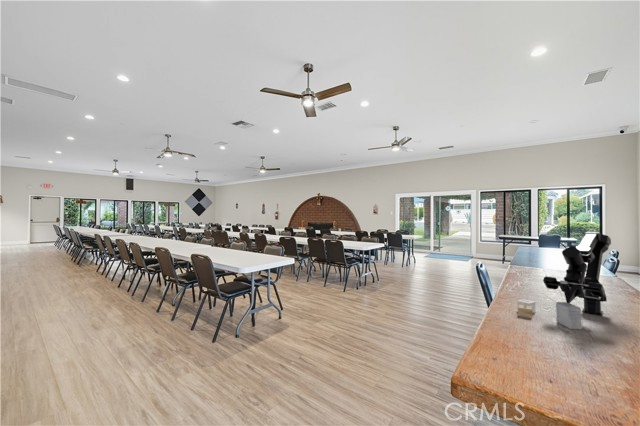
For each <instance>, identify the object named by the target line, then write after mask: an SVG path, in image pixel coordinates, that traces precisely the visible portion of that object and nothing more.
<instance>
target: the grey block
mask: <svg viewBox="0 0 640 426" xmlns="http://www.w3.org/2000/svg"><path fill="white" fill-rule="evenodd" d="M519 305H524V306H530V307H532V314H535V313H536V301H533V300H527V299H518V300H517V307H518V306H519Z"/></svg>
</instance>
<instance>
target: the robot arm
mask: <svg viewBox="0 0 640 426" xmlns="http://www.w3.org/2000/svg"><path fill="white" fill-rule="evenodd" d="M583 234H584V237H582V239H581V241H580V243H579V244H578V245H577V246H576V245H570V246H569V247H567V248H565V249H563V250H562V251H561V254H562V256H563V259H564V261H565V263H566V264H567V265H568V267H567V269H566V270H565V273H566V275H565V276H564V277H563V280H560V281H559V280H557V277H554V276H546V275H545V277H543V280H542V281H543V283H544V286H545V287H546V289H550V290H557V289H559V288H560V291H561V292H563V293H564V297H565V302H567V303H570V304H571V302H572V301H574V300H575V299H576V298H579V299H583V308H582V309H581V313H587V314H593V315H597V316H598V315H599V316H603V314H604V313H603V310H602V303H603V302H606V303H607V298H608V297H607V295H606V292H605V289H604V285H603V284H602V283H601V282H600V274H601V268H602V262H603V261H602V260H603V255H604V253H605V252H608V251H609V248H610V246H611V244H612V241H611V240H612V238H611V237H610V236H609V235H607V234H603V233H601V232H598V231H586V232H585V231H584V233H583Z"/></svg>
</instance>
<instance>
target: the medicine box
mask: <svg viewBox="0 0 640 426" xmlns="http://www.w3.org/2000/svg"><path fill="white" fill-rule="evenodd" d="M555 303H556V304H555V306H556V307H555V312H556V322H557V323H558V324H560V325H561V326H564V327H566V328H567V329H569V330H579V331H580V330H582V328H583V327H582V309H581V307H579V306H577V305H575V304H572V303H571V302H570V303H567V302H566V301H556V302H555Z"/></svg>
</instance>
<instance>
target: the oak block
mask: <svg viewBox="0 0 640 426" xmlns="http://www.w3.org/2000/svg"><path fill="white" fill-rule="evenodd" d="M533 314H534V313H532V307H530V306H524V305H519V306H518V305H517V316H518V317H523V318H529V319H532V318H533Z"/></svg>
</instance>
